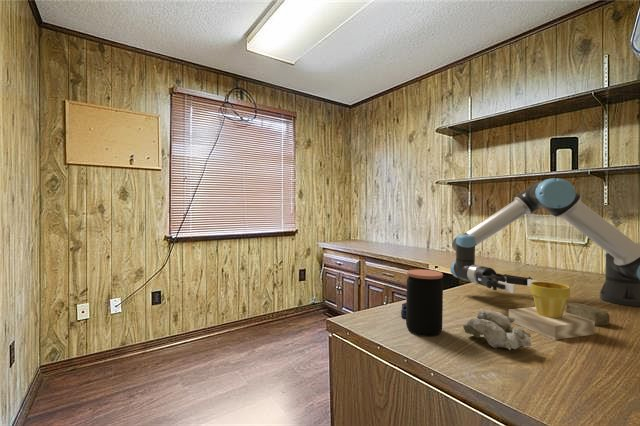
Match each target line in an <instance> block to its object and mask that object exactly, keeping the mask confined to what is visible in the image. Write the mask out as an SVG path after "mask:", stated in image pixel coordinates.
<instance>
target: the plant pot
mask: <svg viewBox="0 0 640 426" xmlns="http://www.w3.org/2000/svg"><path fill="white" fill-rule="evenodd" d="M536 281H537V282H531V283H530V287H529V290H530V294H531V295H532V297H533V303H534V305H535V306H534V307H536V310H537V313H538V314H539V315H541V316H545V317H550V318H561V317H562V316H563V312H565V308H566V306H567V301H568V300H569V299H570V297H571V296H570V295H571V289H570V286H569V285H567V284H564V283H560V282H559V283H558V282H552V281H539V280H536Z"/></svg>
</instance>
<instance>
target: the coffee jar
mask: <svg viewBox="0 0 640 426" xmlns="http://www.w3.org/2000/svg"><path fill="white" fill-rule="evenodd" d="M406 275H407V278H406V299H405V300H406V302H405V303H406V318H405V319H406V320H405V322H406V323H405V325H406V327H407V329H408V331H409V332H410V333H412V334H414V335H417V336H423V337H435V336H439V335H440V334H441V333H442V330H443V317H444V315H443V310H444V308H443V307H444V305H443V303H444V298H443V297H444V296H443V295H444V283H443V280H442V279H443V278H444V273H442V272H441V271H437V270H432V269H421V268H420V269H408V270H407V271H406Z"/></svg>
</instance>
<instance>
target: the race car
mask: <svg viewBox="0 0 640 426" xmlns="http://www.w3.org/2000/svg"><path fill="white" fill-rule="evenodd" d="M400 311H401V312H400V317H401V318H404V319H406V302H403V303H402V305H401V310H400Z"/></svg>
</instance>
